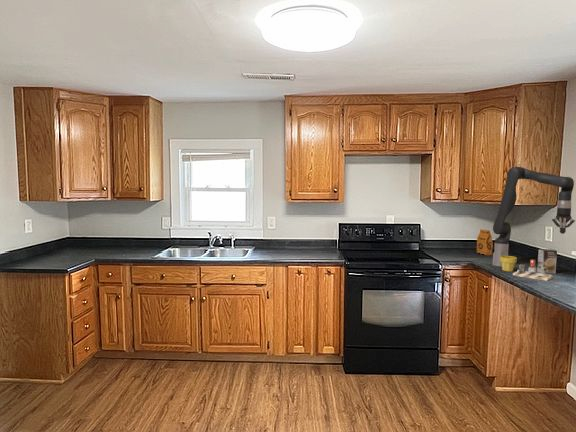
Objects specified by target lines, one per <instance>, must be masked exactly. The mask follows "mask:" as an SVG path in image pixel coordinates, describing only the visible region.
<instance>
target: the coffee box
mask: <svg viewBox="0 0 576 432" xmlns="http://www.w3.org/2000/svg"><path fill="white" fill-rule="evenodd" d="M537 255H538V256H537V267H536V273H543V274H556V273H557V272H556V269H557V258H558V250H555V249H544V248H542V249H541V248H539V249H538V254H537Z"/></svg>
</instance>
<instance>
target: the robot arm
mask: <svg viewBox="0 0 576 432" xmlns="http://www.w3.org/2000/svg"><path fill="white" fill-rule="evenodd" d="M519 180H531V181H534V182H537V183H539V184H544V185H549V186H556V187H557V188H561V189H560V191H559V192H558V197H557V198H558V200H557V204H556V205H557V208H556V216H555V217H554V218H552V219H551V221H552V222H553V223H554V225H555V226H556V227H559V233H560V234H561V235H564V234H565V233H566V232H567V231H566V229H567V228H570V227H571V226H572V225H573V224H574V223H575V222H576V220H575V219H574V218H572V195H573V194H572V193H573V190H574V185H575V181H574V179H573V178H572V177H570V176H560V175H555V174H552V173H548V172H539V171H534V170H531V169H527V168H525V167H522V166H513V167H510V168H509V169H508V171H507V172H506V180H505V185H504V189H503V193H502V196H501V199H500V203H499V204H500V205H499V209H498V211H497V215H496V217H495V220H494V222H493V225H492V231H493V234H496V235H499V236H498V237H496V238H495V239H494V246H493V249H494V252H492V266H495V267H501V268H502V264H501V261H500V256H509V243H510V241H511V240H510V239H511V235H512V234H511V233H512V226H511V224H510V223H509V222H508V221H506V218H507V217H508V215H509V214H510V213H511V212H512V211H513V210H514V207H515V205H516V201H517V185H518V181H519Z"/></svg>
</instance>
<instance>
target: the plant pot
mask: <svg viewBox="0 0 576 432" xmlns="http://www.w3.org/2000/svg"><path fill="white" fill-rule="evenodd" d="M517 259H518V258H517V257H516V256H511V255H508V256H500V261H501V264H502V267H501V270H502V271H504V272H513V271H514V269H515V265H516V263H517V262H518V261H517Z"/></svg>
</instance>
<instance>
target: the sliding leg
mask: <svg viewBox="0 0 576 432" xmlns="http://www.w3.org/2000/svg"><path fill="white" fill-rule="evenodd" d="M527 271H528V272H530V273H528V274H532V272H536V273H537V267H536V259H530V260H529V267H528V269H527Z"/></svg>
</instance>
